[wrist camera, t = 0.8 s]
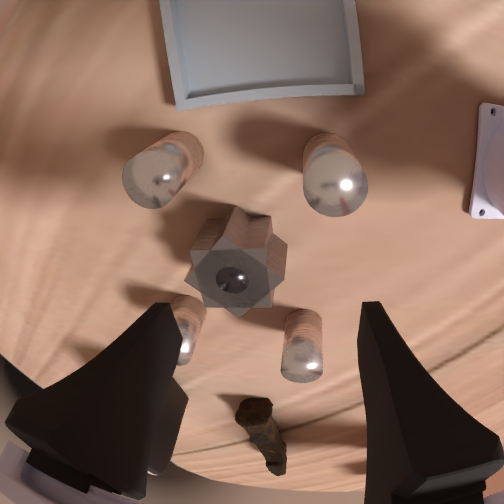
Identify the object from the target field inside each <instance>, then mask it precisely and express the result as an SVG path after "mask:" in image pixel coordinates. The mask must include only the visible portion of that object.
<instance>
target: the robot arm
mask: <svg viewBox="0 0 504 504" xmlns="http://www.w3.org/2000/svg"><path fill="white" fill-rule="evenodd" d="M492 108H493V110H494V112H493V114H492V115H491V109H492ZM482 209H483V210H482ZM480 210H482V212H481V213H479V212H480ZM469 215H470V216H471V217H472V218H474V219H504V106H502V105H496V104H491V103H482V104H481V105H480V106H479V123H478V140H477V152H476V163H475V172H474V180H473V187H472V194H471V200H470V206H469ZM182 341H183V337H182V335H181V332H180V330H179V327H178V325H177V322H176V319H175V317H174V314H173V311H172V309H171V306H170V303H155V304H153V305H152V306H151V307H150V308H149V309H148V310H147V311H146V312H145V313H144V314H142V315H141V316H140V317H139V318H138V319H137V320H136V321H135V322H134V323H133V324H132V325H131V326H130V327H129V328H128V329H127V330H126V331H125V332H123V333H122V334H121V335H120V336H119V337H118V338H117V339H116V340H115V341H113V342H112V343H111V344H110V345H109V346H108V347H107V348H105V349H104V350H103V351H102V352H101V353H100V354H98V355H97V356H96V357H95V358H93V359H92V360H91V361H89V362H88V363H87V364H85V365H84V366H82V367H81V368H79V369H78V370H76V371H75V372H73V373H72V374H70V375H68V376H67V377H65V378H64V379H62V380H60V381H58V382H57V383H55V384H53V385H51V386H49V387H47V388H45V389H43V390H41V391H39V392H36V393H34V394H31V395H29V396H26V397H24V398H21V399H18V400H17V401H16V403H15V404H14V406H13V408H12V410H11V412H10V413H9V415H8V417H7V419H6V421H5V424H6V426H7V427H8V428H9V429H10V430H11V431H12V432H13V433H14V434H15V435H16V436H17V437H19V438H20V439H21V440H22V441H24V442H25V443H26V444H27V445H28V446H30V447H31V448H32V449H31V452H30V453H29V452H27V451H26V450H24V449H23V448H21V447H19V446H17V445H16V444H14V443H13V442H11V441H8V442H7V444H6V446H5V448H4V450H3V452H2V454H1V456H0V492H1V493H2V494H4V495H5V496H6V497H7V498H8V499H10V500H11V501H12V502H14V503H15V504H142V503H139V502H136V501H133V500H130V499H127V498H124V497H121V496H118V495H115V494H113V493H116V494H119V495H121V494H122V495H125V496H127V497H131V498H134V499H137V500H140V499H142V498H144V497H145V496H146V483H147V472H148V465H149V458H150V451H151V446H152V440H153V435H154V431H155V426H156V422H157V418H158V414H159V411H160V408H161V405H162V402H163V400H164V397H165V394H166V392H167V389H168V386H169V384H170V381H171V379H172V376H173V373H174V370H175V368H176V365H177V362H178V359H179V355H180V351H181V346H182ZM357 348H358V365H359V372H360V378H361V385H362V391H363V398H364V405H365V412H366V421H367V470H366V487H365V499H364V504H504V490H503V491H500V492H497V493H495V494H492V495H490V496H487V497H485V498H483V493H482V491H484V490H486V483H485V480H486V479H488V478H489V477H490V476H492V475H493V474H494V473H496V472H497V471H498V470H500V469H501V468H502V467H503V465H504V452H503V447H502V444H501V441H500V438H499V436H498V435H496V434H495V433H494V432H492V431H491V430H489V429H488V428H486V427H485V426H484V425H482V424H481V423H479V422H478V421H477V420H476V419H474V418H473V417H472V416H471V415H470V414H468V413H467V412H466V411H465V410H464V409H463V408H462V407H461V406H460V405H458V404H457V403H456V402H455V401H454V400H453V399H452V398H451V397H450V396H449V395H448V394H447V393H446V392H445V391H444V390H443V389H442V388H441V387H440V386H439V385H438V384H437V382H436V381H435V380H434V379H433V378H432V377H431V376H430V374H429V373H428V372H427V371H426V370H425V368H424V367H423V366H422V365H421V363H420V362H419V361H418V359H417V358H416V357H415V355H414V354H413V353H412V351H411V350H410V349H409V347H408V346H407V344H406V343H405V341H404V340H403V338H402V337H401V335H400V334H399V332H398V331H397V329H396V328H395V326H394V324H393V323H392V321H391V320H390V318H389V316H388V315H387V313H386V311H385V309H384V308H383V306H382V304H381V303H380V302H379V301H374V302H362V309H361V316H360V324H359V331H358V338H357ZM112 492H113V493H112Z"/></svg>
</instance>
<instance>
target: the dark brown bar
mask: <svg viewBox="0 0 504 504" xmlns="http://www.w3.org/2000/svg"><path fill="white" fill-rule="evenodd" d="M272 406H273V404H272V403H271V401H270V400H269V399H259V398H254V399H246V400H244V401H242V402H241V404H240V406H239V409H238V411H237V412H236V416H235V420H236V422H237V423H238V424H239V425H241V426H242V427H245V428H246V430H247V432H248V433H249V434H250V441H251V442H253V443H255V444H256V445H257V447H258V448H259V450H260V451H261V453H262V454H263V456H264V457H265V459H266V467H267V468H268V469H269V471H271V473H273V474H274V475H276V476H280V475H284V474H285V473H286V463H287V456H286V451H287V450H286V443H285V442H283V441H282V439H281V435H280V433H279V431H278V428H277V425H276V422H275V421H274V419H273V417H272Z"/></svg>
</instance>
